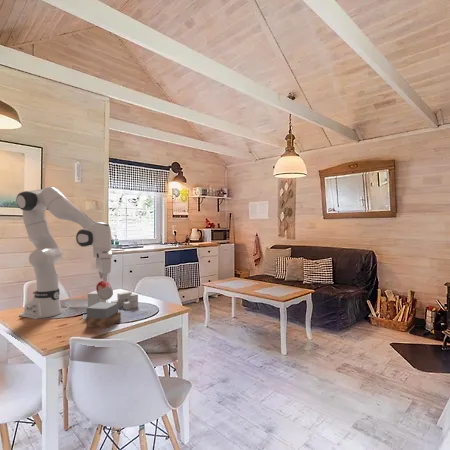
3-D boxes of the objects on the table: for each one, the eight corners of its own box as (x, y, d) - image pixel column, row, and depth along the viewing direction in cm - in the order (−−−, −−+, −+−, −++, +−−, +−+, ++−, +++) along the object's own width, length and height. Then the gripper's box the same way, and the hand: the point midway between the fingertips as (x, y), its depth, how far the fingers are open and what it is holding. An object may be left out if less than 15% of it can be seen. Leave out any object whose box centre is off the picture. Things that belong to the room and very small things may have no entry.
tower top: (86, 317, 160) (86, 307, 160) (100, 311, 171) (99, 302, 171) (106, 318, 158) (105, 309, 157) (118, 312, 168) (118, 303, 168)
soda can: (102, 303, 155) (99, 294, 166) (116, 296, 158) (111, 288, 168) (96, 291, 153) (93, 283, 163) (110, 284, 156) (106, 277, 166)
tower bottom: (86, 327, 160) (86, 317, 160) (101, 319, 172) (100, 310, 172) (107, 329, 157) (107, 319, 157) (120, 321, 169) (120, 311, 169)
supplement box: (106, 312, 185) (106, 290, 184) (99, 316, 177) (99, 293, 177) (95, 311, 186) (94, 290, 185) (87, 315, 179) (87, 293, 178)
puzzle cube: (111, 307, 194) (110, 294, 194) (129, 303, 203) (129, 291, 202) (119, 311, 186) (119, 298, 185) (138, 307, 194) (137, 294, 194)
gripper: (92, 251, 171) (93, 277, 171) (99, 255, 153) (100, 283, 154) (104, 251, 174) (105, 275, 175) (113, 254, 157) (113, 282, 157)
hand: (102, 279), depth 164 cm, fingers open, 8 cm apart
